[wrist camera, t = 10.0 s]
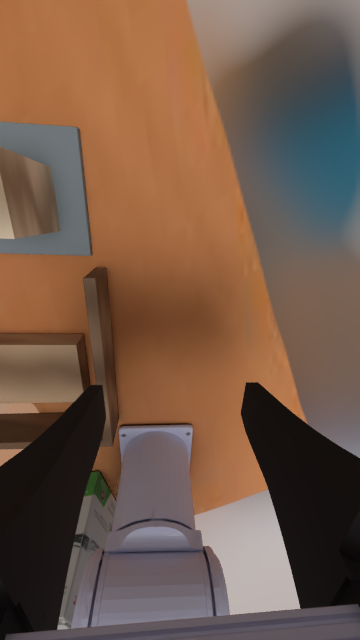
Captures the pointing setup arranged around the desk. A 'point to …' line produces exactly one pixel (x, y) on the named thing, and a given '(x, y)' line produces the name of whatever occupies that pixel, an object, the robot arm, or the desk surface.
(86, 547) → the ink box
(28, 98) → the desk surface
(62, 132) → the slate mat
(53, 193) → the maple block
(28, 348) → the walnut open-sided frame
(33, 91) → the desk surface
